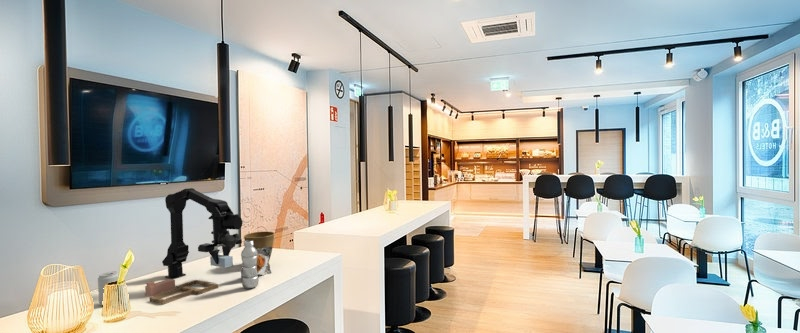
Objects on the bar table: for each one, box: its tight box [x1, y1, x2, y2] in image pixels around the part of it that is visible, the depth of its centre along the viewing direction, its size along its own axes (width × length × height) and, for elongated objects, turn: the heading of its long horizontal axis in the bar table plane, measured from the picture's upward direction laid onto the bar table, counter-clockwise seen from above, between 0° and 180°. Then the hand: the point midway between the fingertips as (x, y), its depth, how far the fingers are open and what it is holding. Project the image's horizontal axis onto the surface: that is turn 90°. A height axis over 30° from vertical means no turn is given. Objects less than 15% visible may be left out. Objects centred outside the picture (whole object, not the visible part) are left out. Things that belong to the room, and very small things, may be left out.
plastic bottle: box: [240, 240, 260, 289], centre depth 160 cm, size 6×7×20 cm
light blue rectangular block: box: [209, 254, 234, 268], centre depth 171 cm, size 10×4×4 cm, turn 62°
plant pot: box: [243, 231, 275, 264], centre depth 195 cm, size 15×15×16 cm
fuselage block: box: [144, 278, 176, 297], centre depth 159 cm, size 4×10×6 cm, turn 154°
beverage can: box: [97, 271, 119, 306], centre depth 147 cm, size 6×6×12 cm
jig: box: [149, 279, 219, 305], centre depth 156 cm, size 15×22×2 cm
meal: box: [240, 247, 273, 282], centre depth 173 cm, size 15×4×13 cm, turn 152°
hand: (221, 262), depth 171 cm, fingers closed on light blue rectangular block, 4 cm apart
